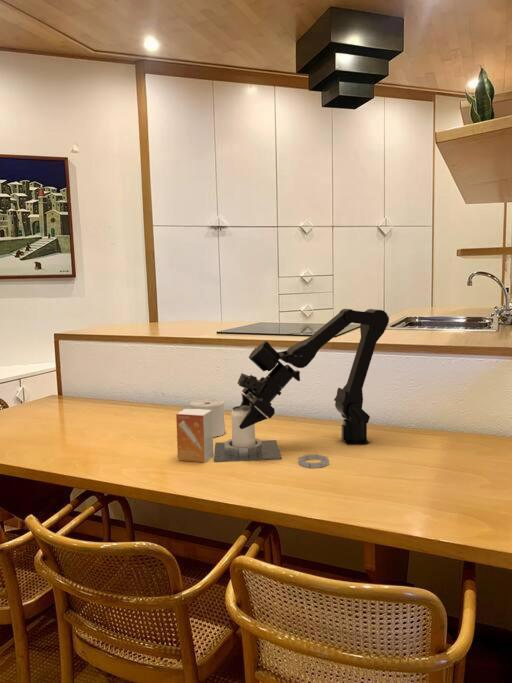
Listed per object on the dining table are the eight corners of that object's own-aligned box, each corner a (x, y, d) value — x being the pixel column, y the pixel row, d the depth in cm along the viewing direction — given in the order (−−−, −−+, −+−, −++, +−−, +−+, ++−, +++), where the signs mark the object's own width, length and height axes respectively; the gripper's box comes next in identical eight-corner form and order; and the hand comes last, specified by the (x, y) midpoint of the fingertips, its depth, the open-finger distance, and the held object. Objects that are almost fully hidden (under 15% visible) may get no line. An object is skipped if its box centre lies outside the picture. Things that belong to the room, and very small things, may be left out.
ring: (325, 457, 141) (325, 453, 141) (330, 467, 134) (330, 463, 134) (297, 458, 141) (297, 455, 141) (301, 468, 134) (300, 464, 133)
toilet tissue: (232, 432, 168) (231, 401, 167) (204, 441, 159) (202, 409, 158) (209, 427, 175) (208, 397, 174) (181, 435, 166) (179, 404, 165)
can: (237, 454, 144) (236, 412, 143) (229, 448, 150) (227, 407, 149) (259, 451, 147) (257, 408, 146) (249, 444, 153) (248, 404, 151)
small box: (177, 460, 142) (175, 413, 141) (187, 453, 148) (185, 407, 147) (205, 463, 140) (203, 415, 138) (214, 455, 146) (212, 409, 144)
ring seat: (276, 441, 157) (275, 433, 157) (281, 459, 141) (281, 450, 141) (215, 443, 156) (215, 436, 156) (213, 462, 140) (213, 453, 140)
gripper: (248, 358, 156) (212, 398, 155) (261, 368, 137) (220, 413, 137) (274, 383, 158) (239, 422, 157) (291, 396, 140) (251, 440, 139)
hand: (237, 423), depth 147 cm, fingers open, 9 cm apart
